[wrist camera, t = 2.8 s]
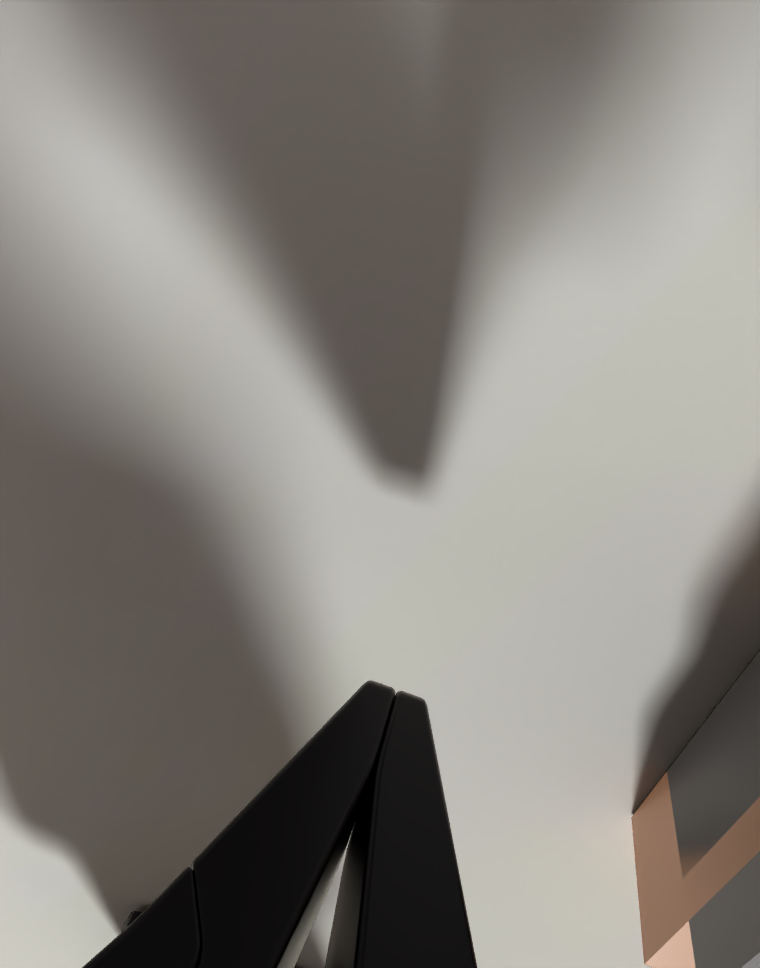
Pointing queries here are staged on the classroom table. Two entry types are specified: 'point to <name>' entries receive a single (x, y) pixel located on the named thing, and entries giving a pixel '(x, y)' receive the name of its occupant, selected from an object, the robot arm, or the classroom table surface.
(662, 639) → the classroom table surface
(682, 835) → the pink slab with nub
